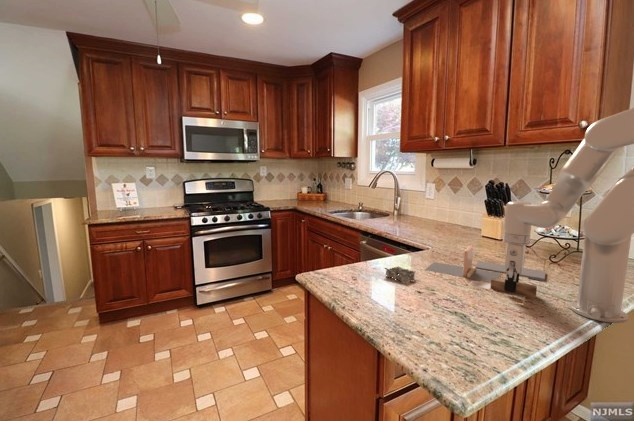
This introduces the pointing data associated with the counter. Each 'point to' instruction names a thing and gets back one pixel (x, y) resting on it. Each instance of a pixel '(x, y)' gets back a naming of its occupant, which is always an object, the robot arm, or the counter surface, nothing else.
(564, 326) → the counter surface
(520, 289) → the turner
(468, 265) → the tile
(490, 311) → the counter surface
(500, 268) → the slate board
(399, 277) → the mottled grey block
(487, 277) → the tile mat
